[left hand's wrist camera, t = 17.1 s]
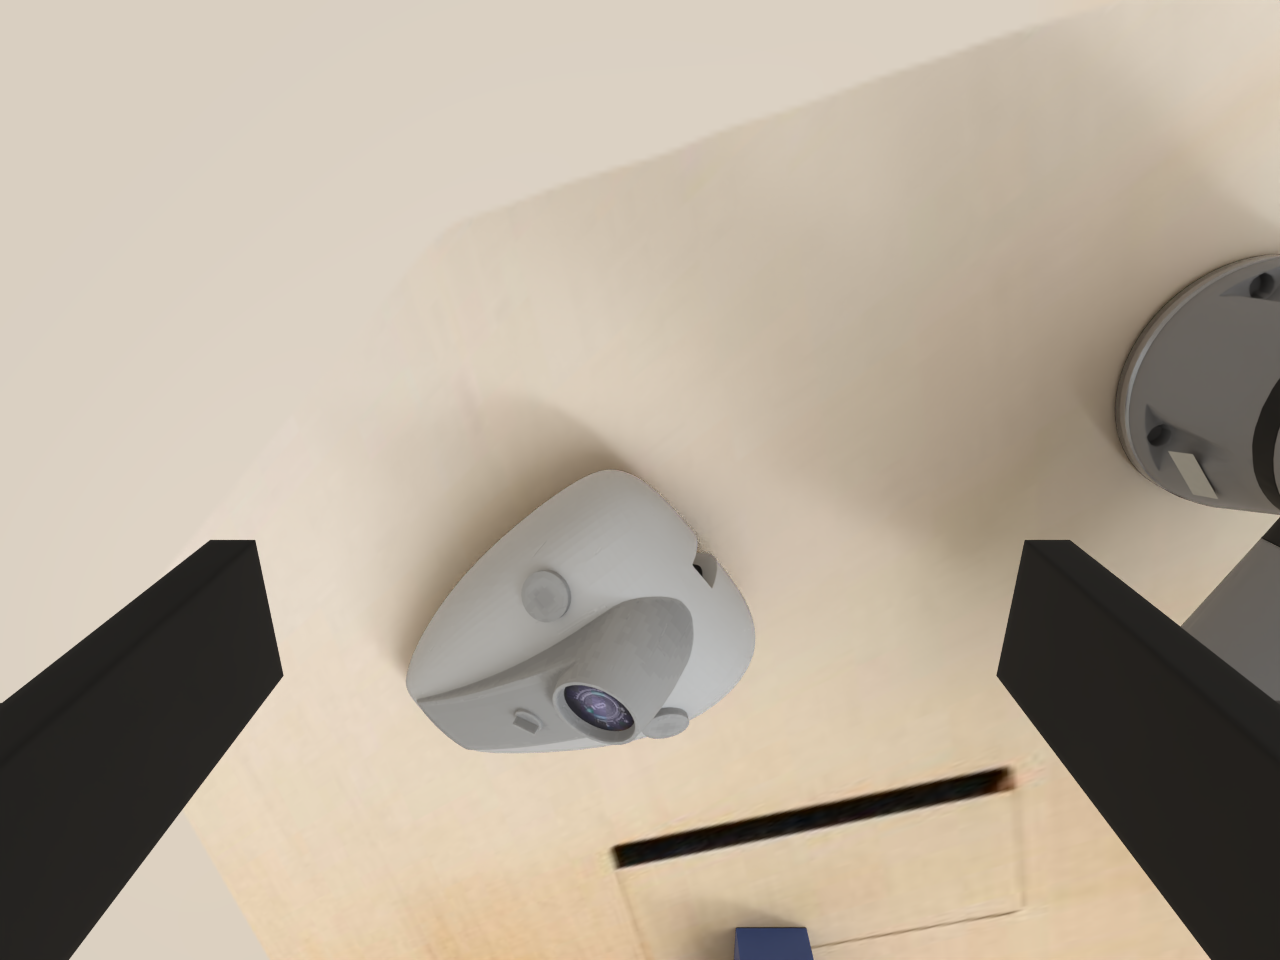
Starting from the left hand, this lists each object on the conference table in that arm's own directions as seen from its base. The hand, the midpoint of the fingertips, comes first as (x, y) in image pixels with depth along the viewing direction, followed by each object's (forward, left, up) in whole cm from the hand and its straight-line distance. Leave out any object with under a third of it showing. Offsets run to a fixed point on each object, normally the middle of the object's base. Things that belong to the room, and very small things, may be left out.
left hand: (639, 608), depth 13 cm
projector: (+21, +3, -33) cm, 39 cm away
